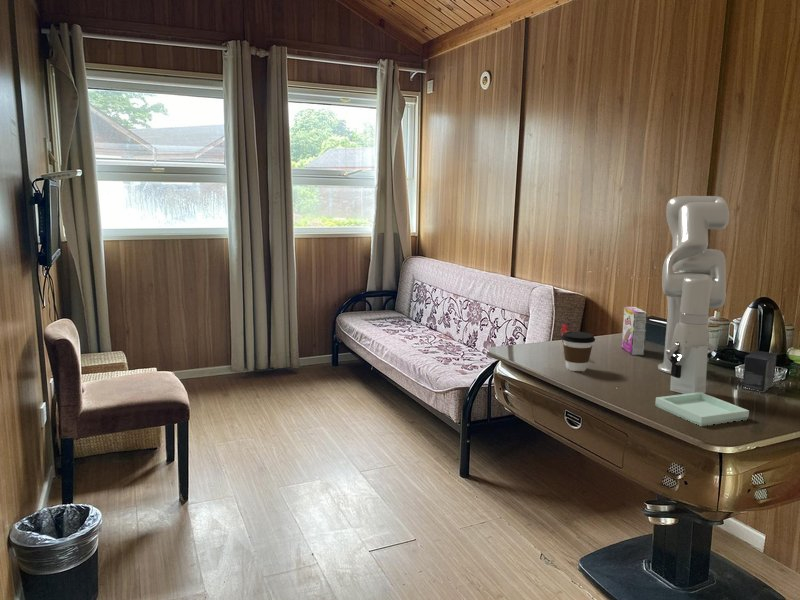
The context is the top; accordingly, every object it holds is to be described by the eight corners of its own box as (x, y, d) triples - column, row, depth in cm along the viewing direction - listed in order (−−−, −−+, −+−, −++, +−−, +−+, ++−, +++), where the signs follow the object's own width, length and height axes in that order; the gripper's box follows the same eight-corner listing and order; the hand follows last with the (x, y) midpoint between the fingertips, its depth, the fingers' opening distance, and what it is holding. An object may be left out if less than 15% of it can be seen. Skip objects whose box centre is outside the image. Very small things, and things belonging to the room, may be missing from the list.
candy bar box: (620, 348, 233) (623, 306, 231) (633, 348, 233) (636, 306, 231) (630, 355, 222) (634, 311, 220) (644, 355, 222) (648, 312, 220)
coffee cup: (552, 367, 205) (554, 333, 203) (573, 363, 211) (575, 329, 209) (578, 375, 196) (581, 339, 194) (599, 370, 202) (602, 335, 200)
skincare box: (705, 394, 178) (710, 345, 176) (694, 398, 175) (698, 348, 172) (679, 387, 185) (683, 340, 183) (667, 390, 182) (671, 342, 179)
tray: (699, 400, 173) (700, 392, 172) (748, 419, 158) (749, 410, 158) (655, 406, 168) (655, 397, 167) (700, 426, 153) (701, 417, 152)
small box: (751, 381, 192) (754, 349, 190) (774, 385, 188) (778, 353, 186) (740, 388, 185) (744, 355, 183) (764, 393, 180) (768, 359, 178)
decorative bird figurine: (564, 347, 232) (565, 322, 231) (583, 360, 215) (585, 332, 213) (556, 348, 232) (558, 322, 230) (576, 360, 215) (577, 333, 213)
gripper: (706, 315, 183) (700, 369, 186) (660, 318, 177) (655, 374, 180) (726, 319, 176) (720, 376, 179) (679, 323, 170) (674, 381, 173)
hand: (688, 375), depth 179 cm, fingers open, 9 cm apart
